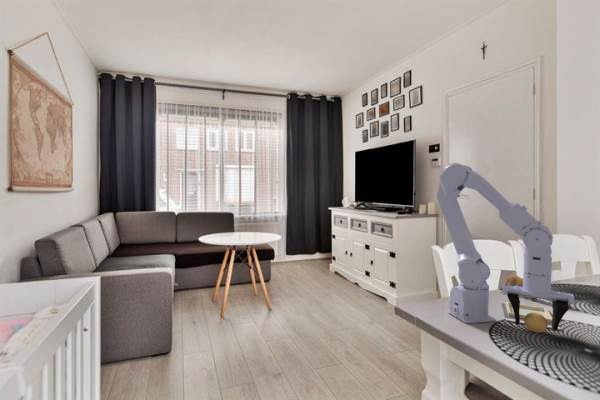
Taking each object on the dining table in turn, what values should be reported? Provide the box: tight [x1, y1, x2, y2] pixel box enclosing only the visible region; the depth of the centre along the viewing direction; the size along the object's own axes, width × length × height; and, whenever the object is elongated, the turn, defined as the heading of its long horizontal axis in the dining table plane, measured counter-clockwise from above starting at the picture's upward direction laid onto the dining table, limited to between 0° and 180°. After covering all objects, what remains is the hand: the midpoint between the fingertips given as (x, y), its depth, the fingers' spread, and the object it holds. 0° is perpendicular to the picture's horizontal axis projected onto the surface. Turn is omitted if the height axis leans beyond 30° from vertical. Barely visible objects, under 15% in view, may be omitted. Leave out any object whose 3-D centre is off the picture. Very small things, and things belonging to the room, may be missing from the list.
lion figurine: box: [499, 274, 538, 302], centre depth 108 cm, size 15×5×9 cm, turn 35°
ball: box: [524, 312, 548, 333], centre depth 81 cm, size 5×5×5 cm
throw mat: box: [501, 301, 563, 332], centre depth 91 cm, size 16×12×1 cm
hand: (535, 326), depth 81 cm, fingers open, 7 cm apart
